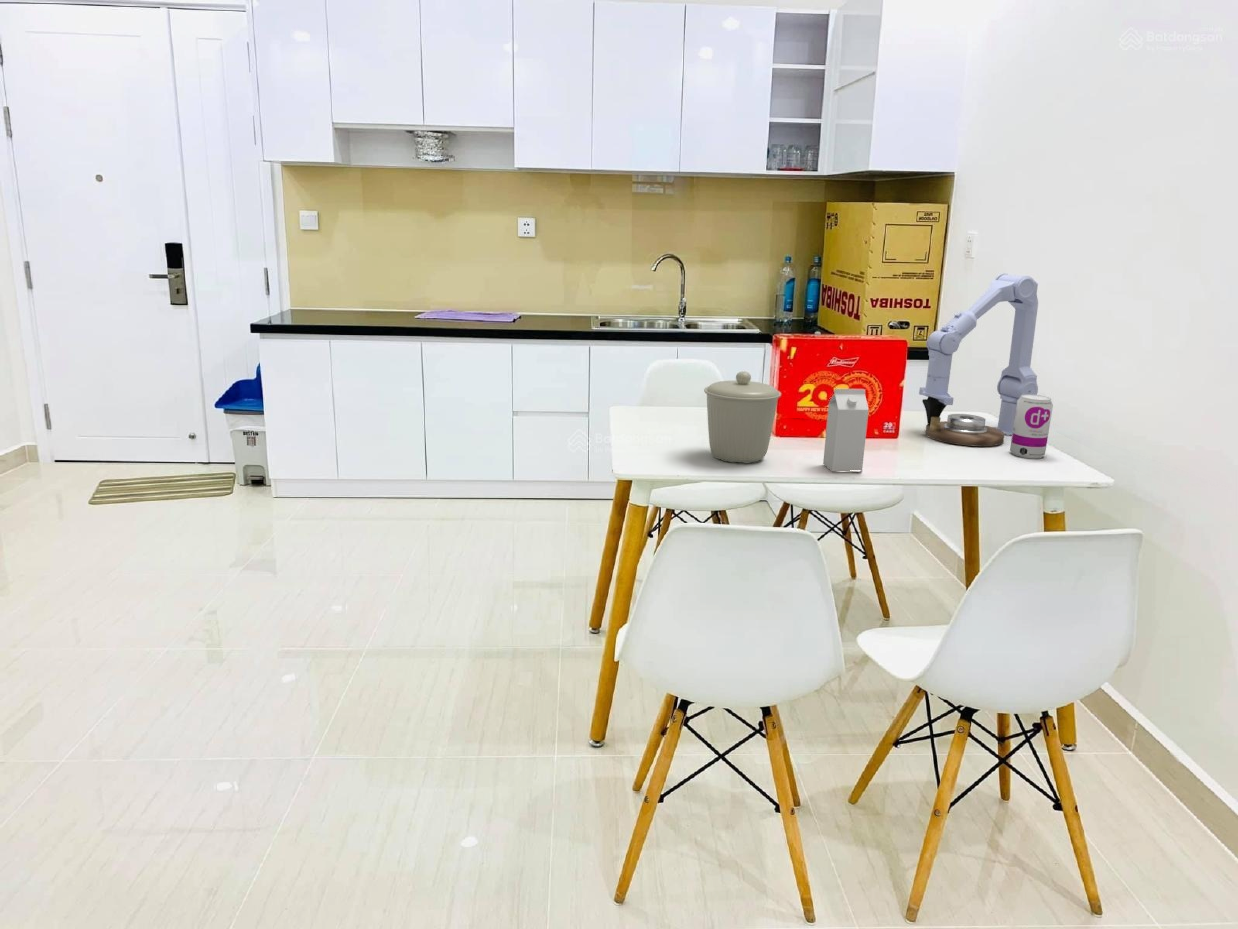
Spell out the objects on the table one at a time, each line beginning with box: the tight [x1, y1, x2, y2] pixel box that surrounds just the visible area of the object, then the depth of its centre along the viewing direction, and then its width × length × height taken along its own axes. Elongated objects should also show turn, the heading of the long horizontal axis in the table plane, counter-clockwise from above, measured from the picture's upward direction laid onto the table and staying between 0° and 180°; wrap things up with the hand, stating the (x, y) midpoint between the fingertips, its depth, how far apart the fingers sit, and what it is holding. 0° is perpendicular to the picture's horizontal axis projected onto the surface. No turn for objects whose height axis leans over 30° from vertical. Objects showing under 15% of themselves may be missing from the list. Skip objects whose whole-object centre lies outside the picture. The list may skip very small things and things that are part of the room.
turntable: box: [925, 416, 1005, 447], centre depth 247 cm, size 20×20×6 cm
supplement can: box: [1009, 394, 1054, 460], centre depth 230 cm, size 8×8×15 cm
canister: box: [703, 371, 782, 463], centre depth 217 cm, size 18×18×21 cm
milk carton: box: [822, 388, 869, 472], centre depth 211 cm, size 7×7×19 cm
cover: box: [944, 413, 987, 435], centre depth 246 cm, size 11×11×4 cm
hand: (931, 425), depth 247 cm, fingers closed
